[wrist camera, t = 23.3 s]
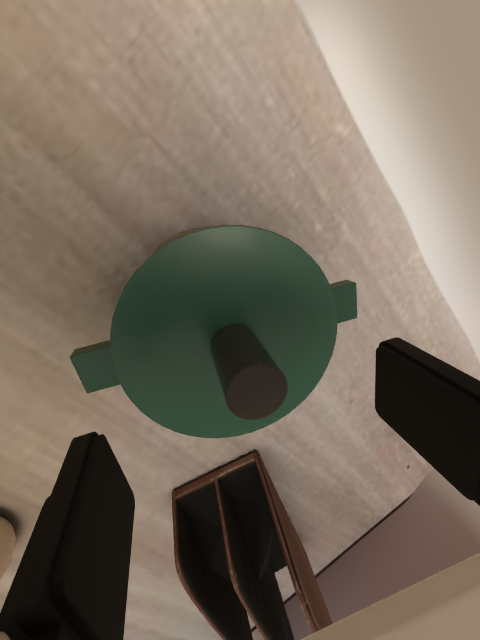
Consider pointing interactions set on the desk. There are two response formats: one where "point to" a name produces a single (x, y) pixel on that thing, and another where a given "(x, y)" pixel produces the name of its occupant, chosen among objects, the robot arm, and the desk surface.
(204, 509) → the letter holder
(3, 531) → the plastic bottle
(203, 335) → the lid
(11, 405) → the desk surface
